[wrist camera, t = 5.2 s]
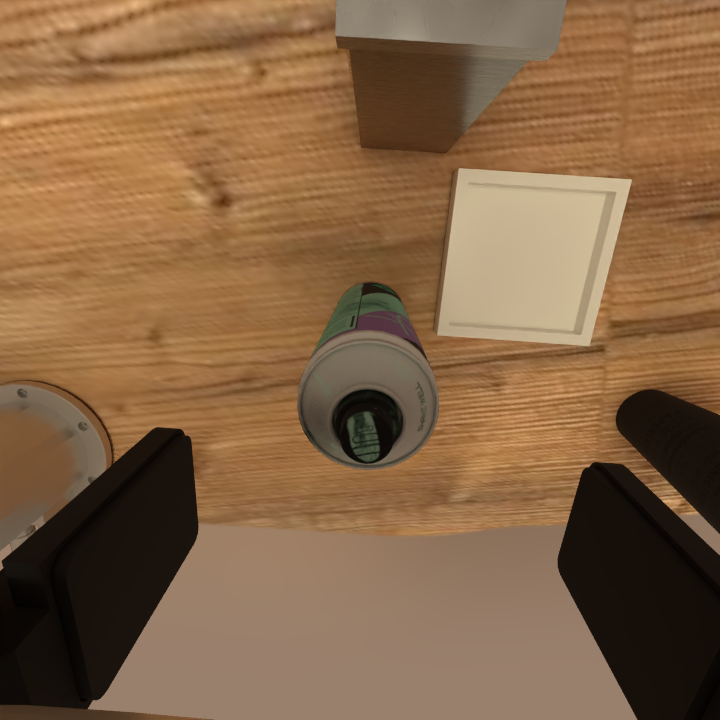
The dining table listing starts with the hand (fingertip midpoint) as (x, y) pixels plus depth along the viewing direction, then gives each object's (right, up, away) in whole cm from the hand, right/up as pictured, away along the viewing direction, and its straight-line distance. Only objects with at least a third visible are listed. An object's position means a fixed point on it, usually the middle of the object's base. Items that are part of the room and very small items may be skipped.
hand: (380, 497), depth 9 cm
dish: (+12, +11, +20) cm, 26 cm away
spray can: (0, +7, +22) cm, 23 cm away
